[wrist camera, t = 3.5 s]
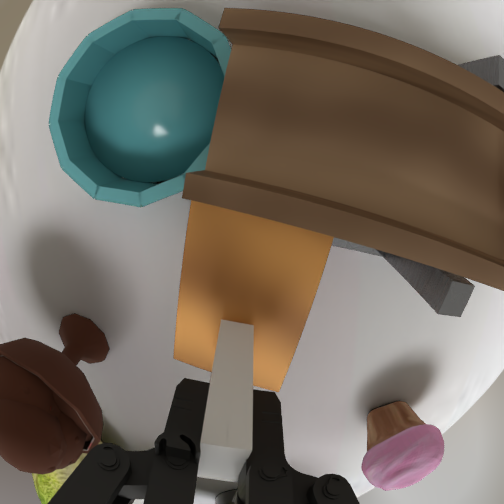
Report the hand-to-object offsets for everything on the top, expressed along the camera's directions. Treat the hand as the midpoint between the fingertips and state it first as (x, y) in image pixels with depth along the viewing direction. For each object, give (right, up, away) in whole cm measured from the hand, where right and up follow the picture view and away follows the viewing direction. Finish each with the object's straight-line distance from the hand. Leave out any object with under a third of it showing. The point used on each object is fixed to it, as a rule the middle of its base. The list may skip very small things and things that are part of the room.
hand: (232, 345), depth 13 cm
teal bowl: (-5, +14, +3) cm, 15 cm away
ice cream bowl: (-15, -4, +10) cm, 18 cm away
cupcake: (+16, -13, +13) cm, 25 cm away
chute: (+11, +5, +1) cm, 12 cm away
